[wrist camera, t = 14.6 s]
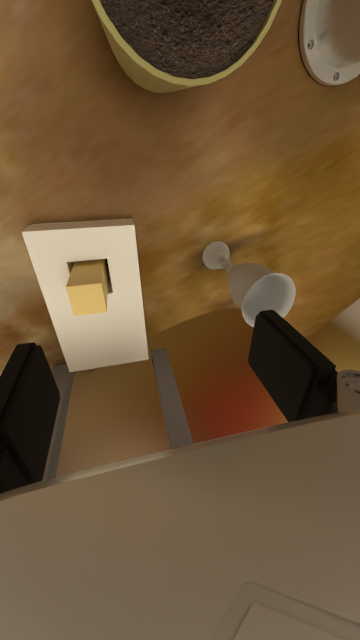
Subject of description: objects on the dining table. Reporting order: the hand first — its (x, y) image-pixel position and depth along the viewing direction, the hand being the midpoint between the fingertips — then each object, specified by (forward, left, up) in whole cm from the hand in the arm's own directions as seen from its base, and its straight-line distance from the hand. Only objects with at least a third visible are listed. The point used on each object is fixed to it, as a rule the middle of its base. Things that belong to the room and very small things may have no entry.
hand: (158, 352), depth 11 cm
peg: (+7, -6, -32) cm, 34 cm away
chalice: (+7, +15, -32) cm, 36 cm away
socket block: (+12, -6, -32) cm, 35 cm away
